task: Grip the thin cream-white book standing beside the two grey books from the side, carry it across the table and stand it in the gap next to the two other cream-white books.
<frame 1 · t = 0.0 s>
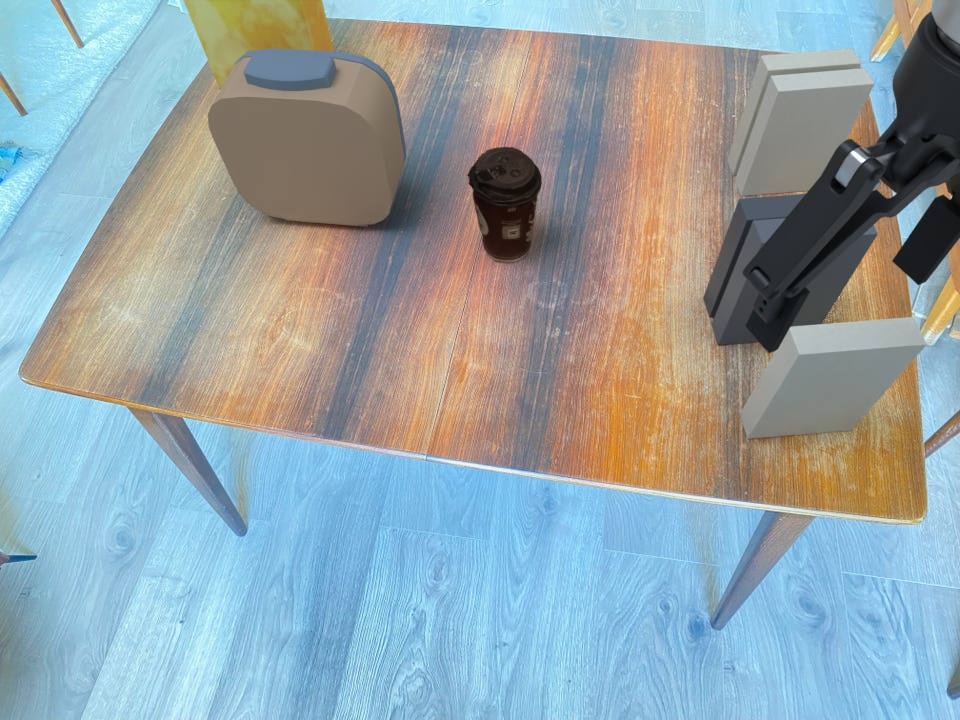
hand: (836, 304, 51), 25 cm above the table, tool pointing down, fingers open, 13 cm apart
alarm clock: (333, 204, 94), on the table
grey books: (780, 269, 73), on the table
yellow marbled panel: (288, 79, 111), on the table
coffee cup: (505, 245, 89), on the table
white book: (794, 422, 73), on the table
white books: (793, 126, 87), on the table
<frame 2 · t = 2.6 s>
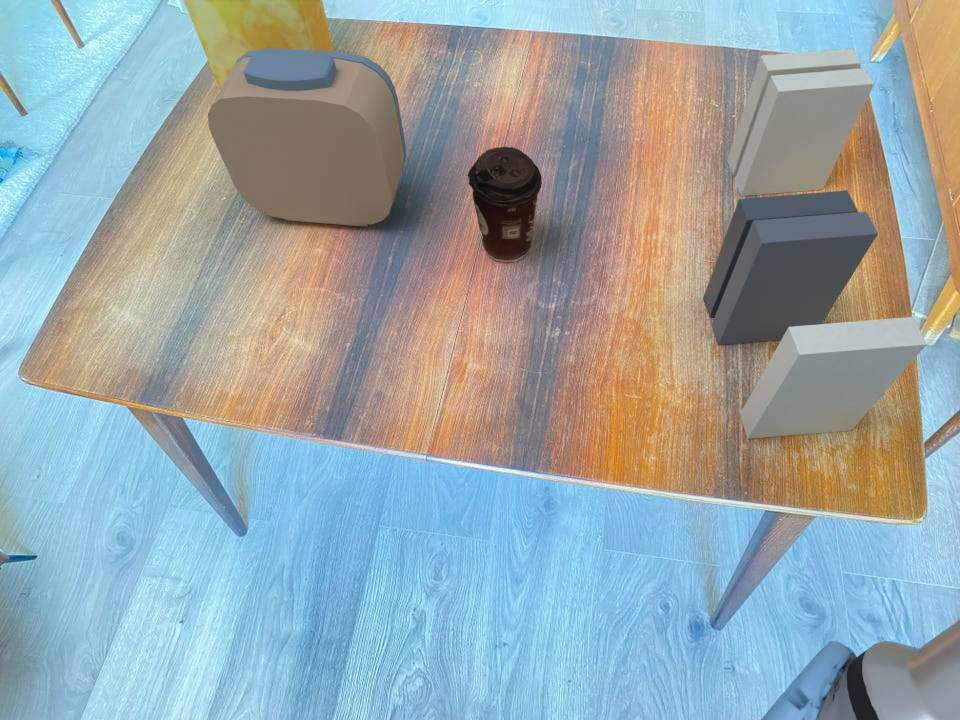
nothing on the table moved.
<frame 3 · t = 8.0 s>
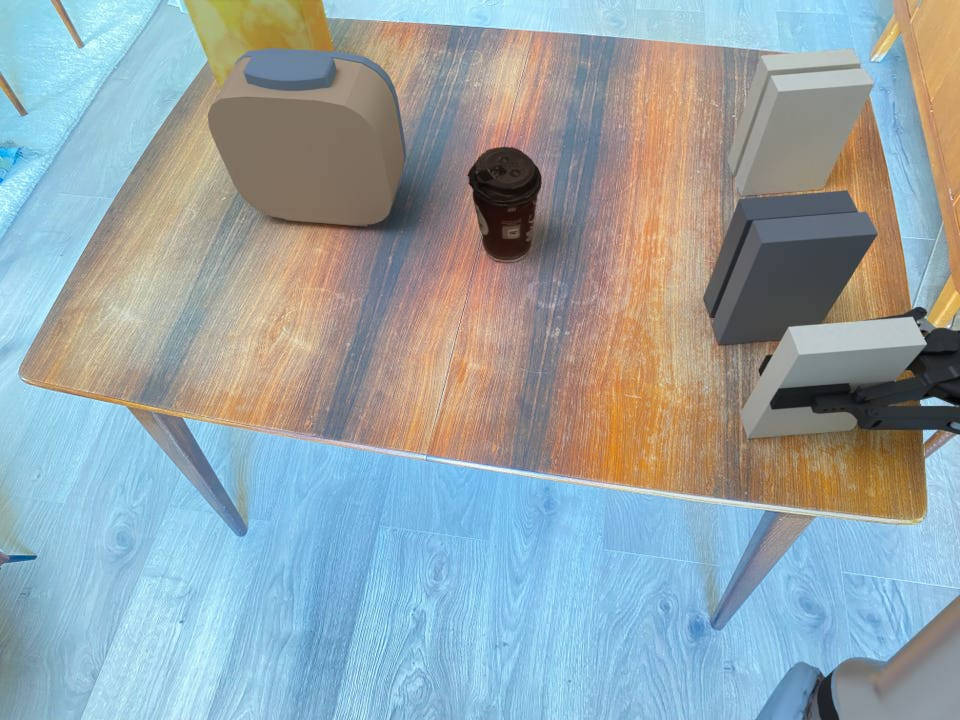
hand: (769, 382, 65), 9 cm above the table, tool horizontal, fingers closed on white book, 3 cm apart
white book: (794, 422, 73), on the table, touching gripper
everything else where it was.
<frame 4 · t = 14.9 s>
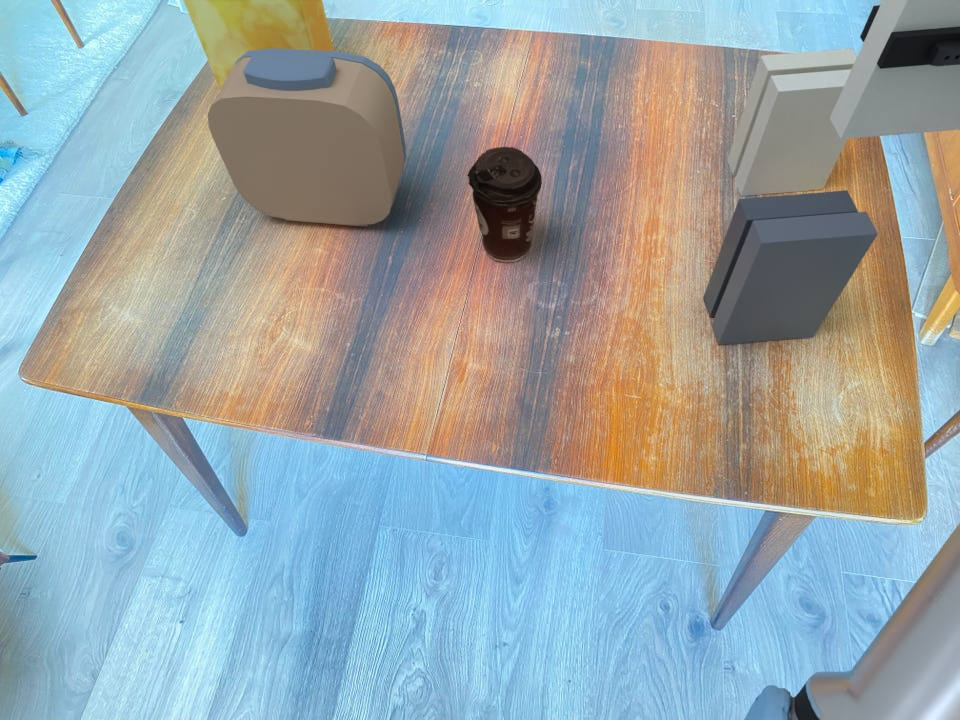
hand: (877, 37, 56), 32 cm above the table, tool horizontal, fingers closed on white book, 3 cm apart
white book: (894, 124, 63), point 23 cm above the table, touching gripper
everything else where it was.
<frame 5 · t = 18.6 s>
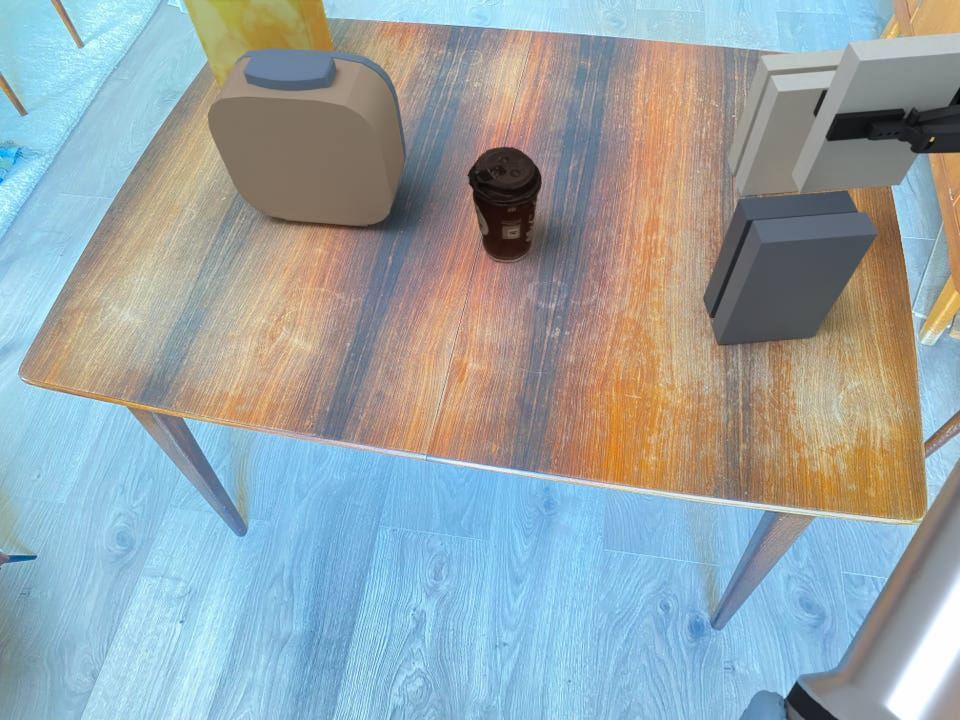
hand: (825, 115, 69), 21 cm above the table, tool horizontal, fingers closed on white book, 3 cm apart
white book: (844, 180, 76), point 12 cm above the table, touching gripper
everything else where it was.
when the fingers open (9 cm above the table, at t = 21.9 s): white book stays where it is, on the table.
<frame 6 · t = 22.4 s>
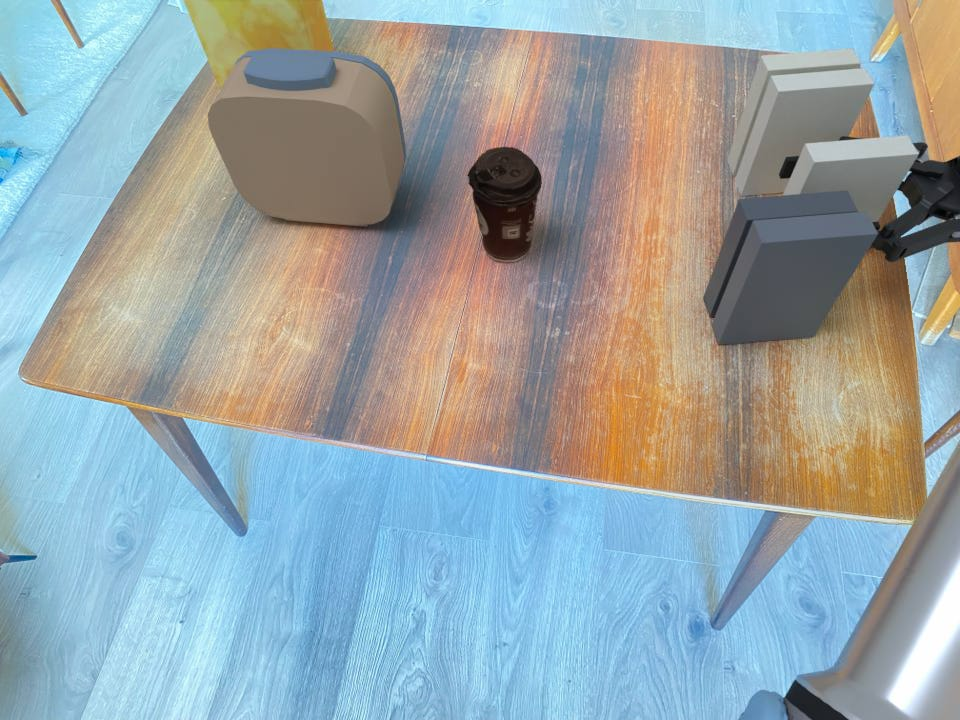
hand: (798, 201, 78), 9 cm above the table, tool horizontal, fingers open, 10 cm apart
white book: (807, 251, 86), on the table
everything else where it was.
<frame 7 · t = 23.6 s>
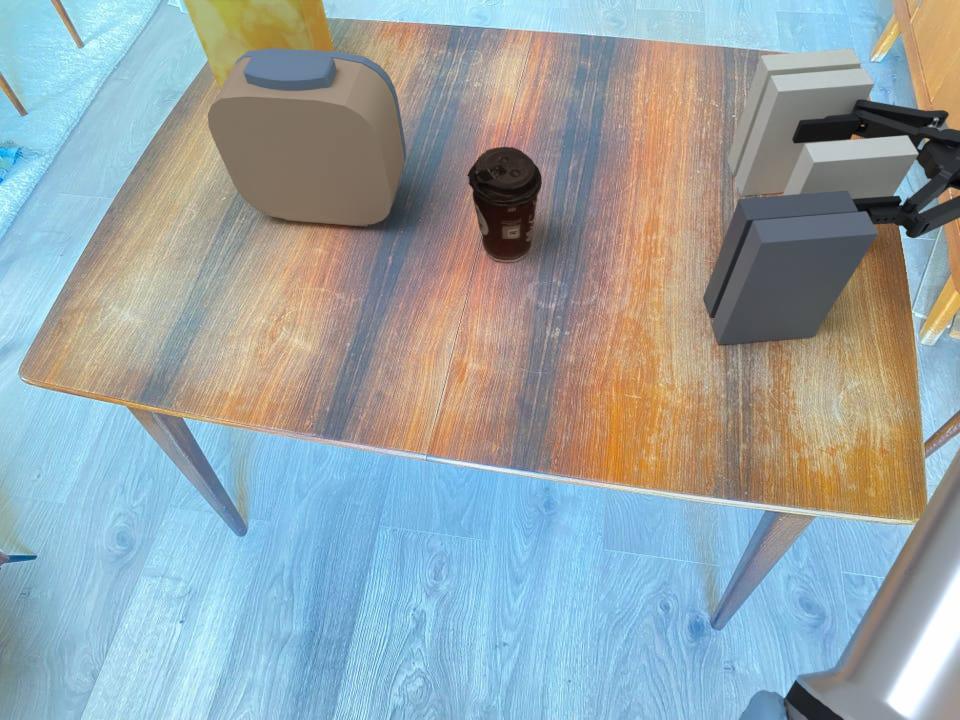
hand: (813, 170, 76), 13 cm above the table, tool horizontal, fingers open, 12 cm apart
nothing on the table moved.
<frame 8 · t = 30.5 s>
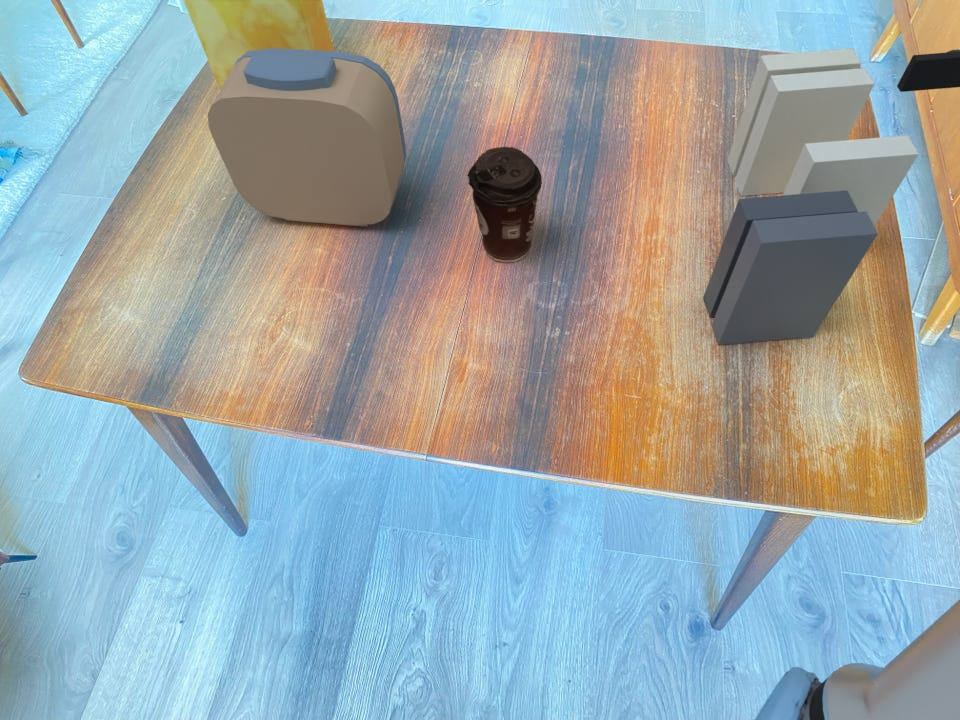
hand: (944, 130, 50), 32 cm above the table, tool horizontal, fingers open, 13 cm apart
nothing on the table moved.
at the end: white book 0.1 cm off-centre on the white books, point 0.0 cm above the white books's base; white book tilted 0°; the gripper is holding nothing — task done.
